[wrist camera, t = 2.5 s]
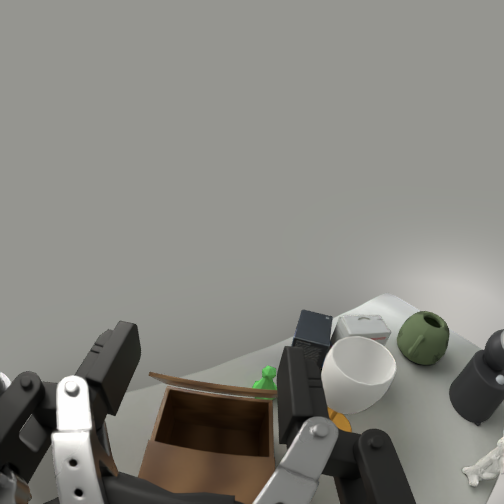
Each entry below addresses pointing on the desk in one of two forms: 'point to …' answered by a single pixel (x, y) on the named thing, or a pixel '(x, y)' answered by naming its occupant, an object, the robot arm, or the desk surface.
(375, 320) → the ink box
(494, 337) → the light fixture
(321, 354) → the box
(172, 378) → the flap
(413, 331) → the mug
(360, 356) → the cup
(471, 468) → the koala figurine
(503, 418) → the desk surface
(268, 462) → the brown boxy piece
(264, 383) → the game piece
